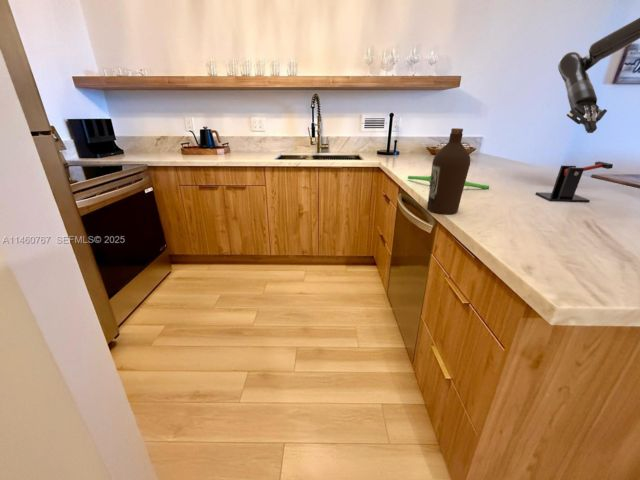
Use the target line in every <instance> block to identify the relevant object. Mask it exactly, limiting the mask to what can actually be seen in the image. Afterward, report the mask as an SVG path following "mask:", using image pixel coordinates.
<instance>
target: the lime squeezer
mask: <svg viewBox="0 0 640 480" xmlns="http://www.w3.org/2000/svg"><path fill="white" fill-rule="evenodd" d="M407 180H414V181H415V180H417V181H423V182H424V181H425V182H428V183H429V184H430V181H431V175H429V176H428V175H425V176H423V175H408V176H407ZM464 187H470V188H477V189H483V190H489V189H490V185H489V184H488V185H487V184H481V183H474V182H470V181H467V180H466V181H465V185H464Z"/></svg>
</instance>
